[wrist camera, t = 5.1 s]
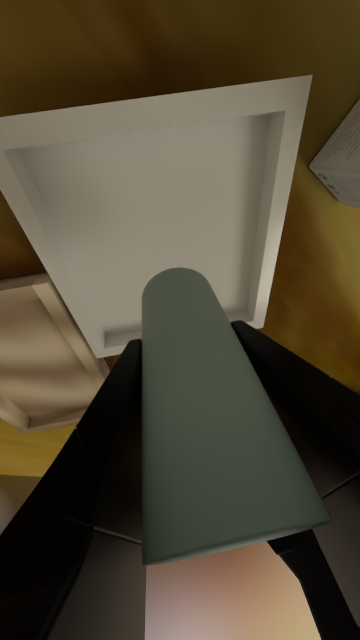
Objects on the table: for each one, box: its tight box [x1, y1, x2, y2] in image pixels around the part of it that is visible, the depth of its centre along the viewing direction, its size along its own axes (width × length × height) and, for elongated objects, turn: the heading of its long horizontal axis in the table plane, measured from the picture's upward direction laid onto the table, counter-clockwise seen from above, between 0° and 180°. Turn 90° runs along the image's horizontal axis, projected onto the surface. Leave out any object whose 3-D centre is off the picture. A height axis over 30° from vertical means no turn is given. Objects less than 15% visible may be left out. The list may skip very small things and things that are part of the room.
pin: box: [142, 267, 333, 565], centre depth 7 cm, size 3×3×8 cm
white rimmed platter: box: [0, 75, 313, 358], centre depth 14 cm, size 15×15×2 cm
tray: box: [0, 272, 110, 434], centre depth 20 cm, size 18×12×2 cm, turn 6°
